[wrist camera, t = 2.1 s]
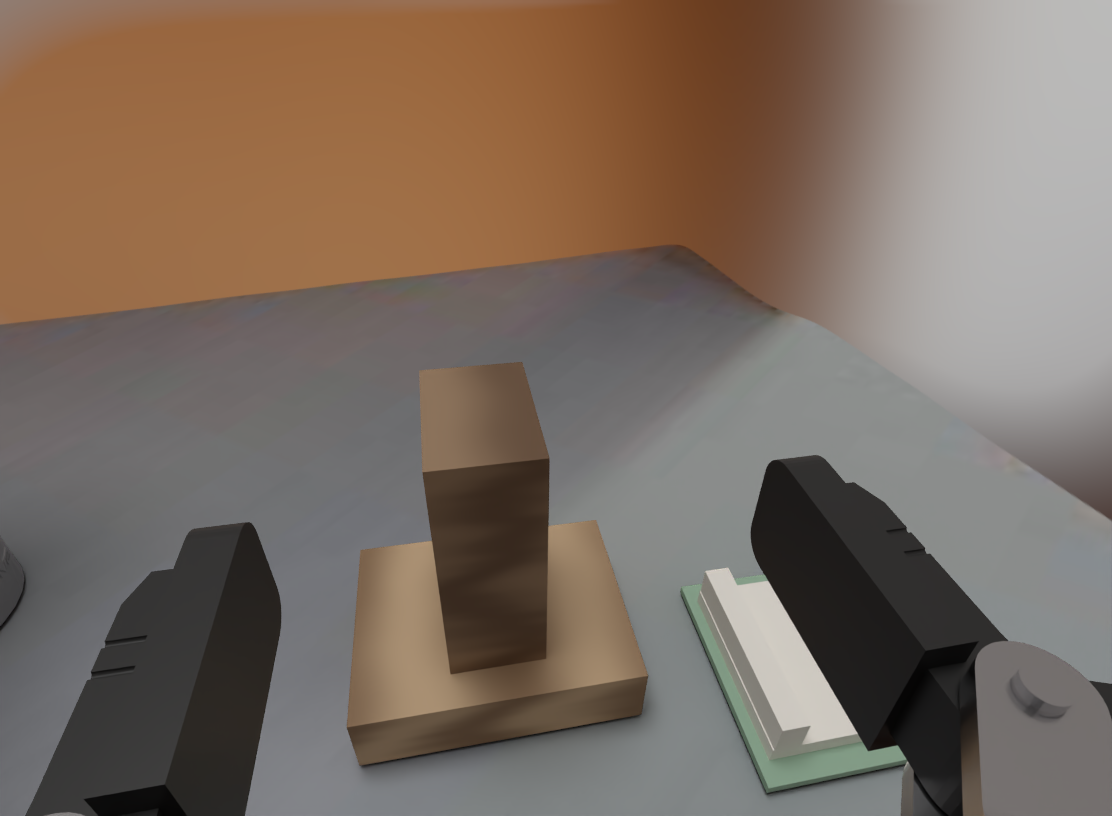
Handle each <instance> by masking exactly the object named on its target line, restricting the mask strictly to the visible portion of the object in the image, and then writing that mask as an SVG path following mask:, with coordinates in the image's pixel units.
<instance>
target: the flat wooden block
mask: <svg viewBox="0 0 1112 816" xmlns="http://www.w3.org/2000/svg"><path fill="white" fill-rule="evenodd" d="M647 679H648V674H647V671H646V668H645V665H644V662H643V659H642V656H641V653H640V650H639V647H638V644H637V641H636V638H635V635H634V632H633V629H632V626H631V623H630V620H629V617H628V614H627V611H626V608H625V605H624V602H623V599H622V596H621V593H620V590H619V587H618V584H617V581H616V578H615V575H614V572H613V569H612V566H611V563H610V560H609V557H608V554H607V552H606V549H605V546H604V543H603V540H602V537H601V534H600V531H599V528H598V525H597V522H596V520H592V521H585V522H577V523H569V524H561V525H553V526H548V583H547V645H546V659H543V660H537V661H530V662H524V663H518V664H512V665H506V666H500V667H493V668H487V669H481V670H475V671H469V672H463V673H457V674H450V668H449V660H448V653H447V646H446V639H445V631H444V624H443V617H442V610H441V602H440V595H439V588H438V581H437V574H436V566H435V559H434V552H433V545H432V541H428V542H420V543H412V544H404V545H396V546H389V547H381V548H373V549H365V550H361V551H360V564H359V577H358V590H357V603H356V616H355V629H354V641H353V654H352V667H351V680H350V693H349V706H348V719H347V730H348V732H349V735H350V738H351V741H352V744H353V747H354V750H355V753H356V756H357V759H358V762H359V765H366V764H371V763H377V762H382V761H388V760H393V759H399V758H404V757H410V756H415V755H421V754H426V753H432V752H437V751H443V750H448V749H454V748H459V747H465V746H470V745H476V744H481V743H487V742H492V741H498V740H503V739H509V738H514V737H520V736H525V735H531V734H536V733H542V732H547V731H553V730H558V729H564V728H569V727H575V726H580V725H586V724H591V723H597V722H602V721H608V720H613V719H619V718H624V717H630V716H635V715H641V712H642V707H643V701H644V696H645V690H646V685H647Z"/></svg>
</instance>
